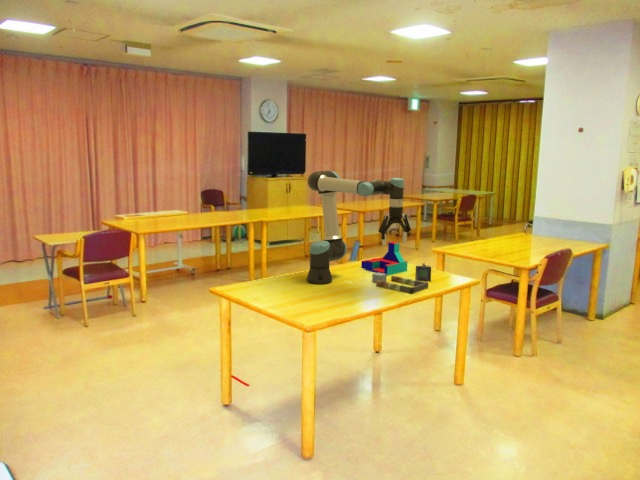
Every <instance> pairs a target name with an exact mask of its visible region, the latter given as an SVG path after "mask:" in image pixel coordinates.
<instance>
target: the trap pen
mask: <svg viewBox="0 0 640 480" xmlns="http://www.w3.org/2000/svg"><path fill="white" fill-rule="evenodd" d="M400 285H401V286H400V291H399V292H402V293H407V294H411V295H412V294H415V293H418V292H421V291H424V290H426V289H428V288H429V282H428V281H417V280H416V281H414V286H409V285H404V284H403V285H402V284H400Z"/></svg>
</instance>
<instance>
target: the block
mask: <svg viewBox="0 0 640 480" xmlns="http://www.w3.org/2000/svg"><path fill="white" fill-rule="evenodd" d="M371 277H372V279H371V282H372V283H374V284H376V281H378V280H380V281H384V282H387V280H388V277H387V274H384V273H379V272H378V273H375V272H373V273H372V275H371Z"/></svg>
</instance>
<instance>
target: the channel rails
mask: <svg viewBox="0 0 640 480" xmlns="http://www.w3.org/2000/svg"><path fill="white" fill-rule="evenodd" d="M390 277H391V279H390V280H391V282H388V281H386V282H384V281H380V280H378V281H376V283H375V285H376V287H378V288H379V287H380V288H384V289H388V290H393V291H396V292H397V291H398V292H401V291H400V286H401V285H402V284H403V285H406V286H411V287H414V281H416V280H415V279H413V278H407V277H402V276H397V275H392V276H390ZM392 282H394V283H392ZM399 283H400V284H399Z"/></svg>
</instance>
